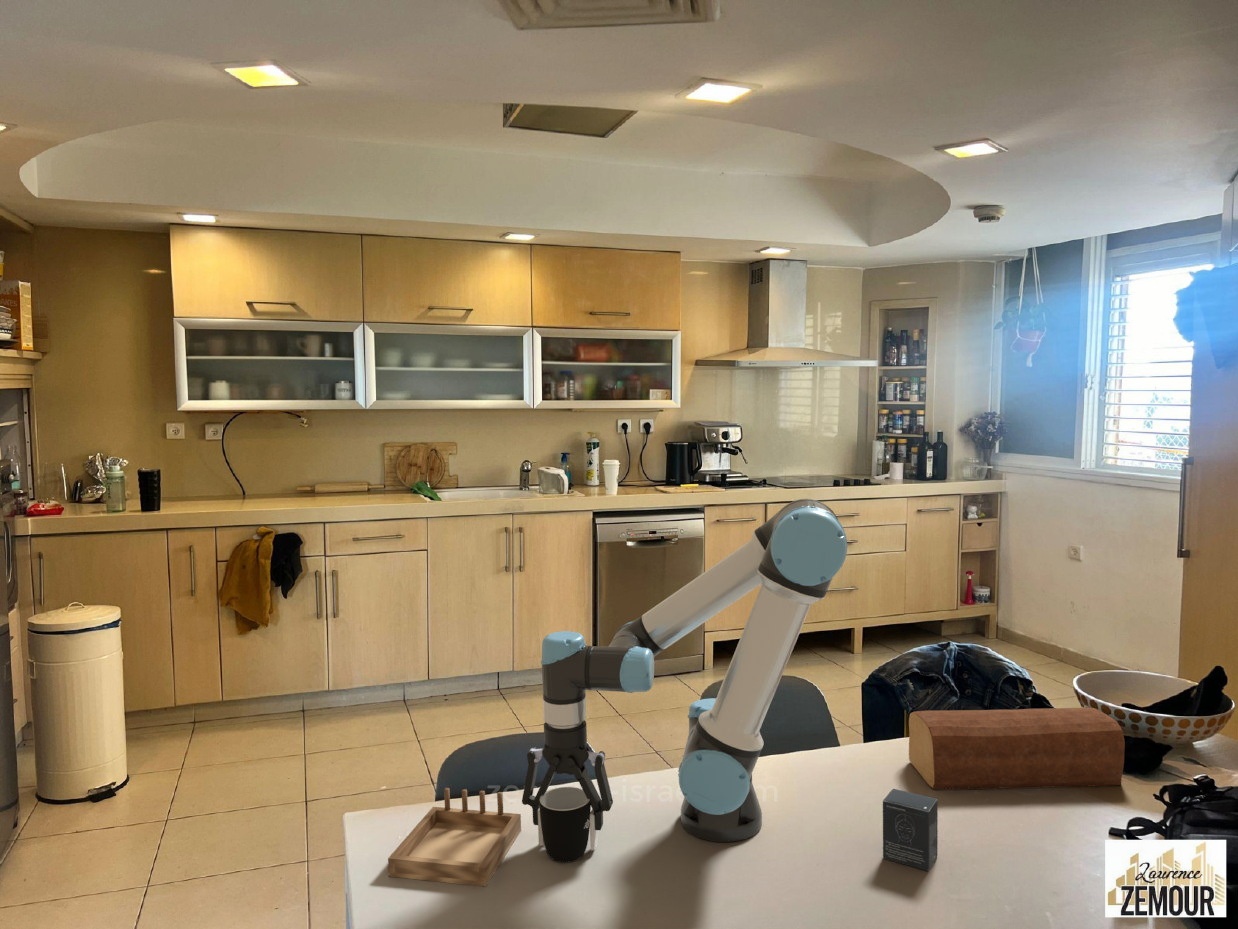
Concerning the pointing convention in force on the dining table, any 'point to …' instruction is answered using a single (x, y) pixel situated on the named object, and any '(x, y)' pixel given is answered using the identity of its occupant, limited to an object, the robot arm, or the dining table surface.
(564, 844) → the mug
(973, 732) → the bread
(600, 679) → the robot arm
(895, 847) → the box
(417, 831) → the rack
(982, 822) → the dining table surface
